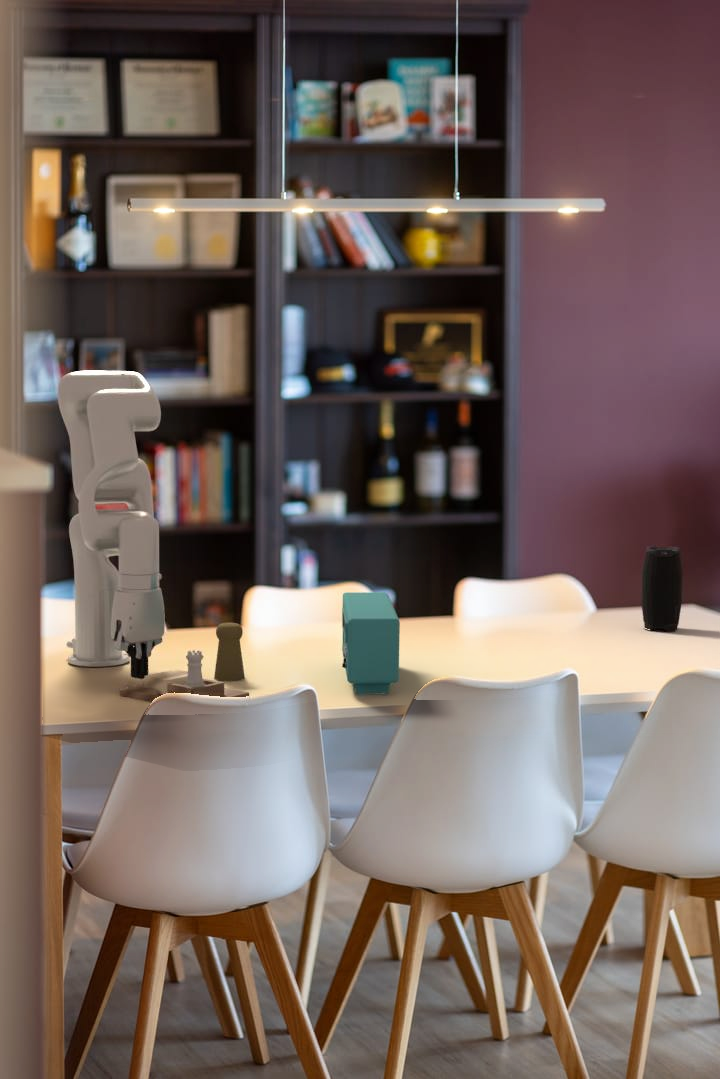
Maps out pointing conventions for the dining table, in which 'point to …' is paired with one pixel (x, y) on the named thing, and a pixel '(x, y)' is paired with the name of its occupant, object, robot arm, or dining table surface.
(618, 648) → the dining table surface
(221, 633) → the cork
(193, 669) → the rook chess piece
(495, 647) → the dining table surface
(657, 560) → the portable speaker
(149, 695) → the board
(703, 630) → the dining table surface
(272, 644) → the dining table surface
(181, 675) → the cream rectangular block
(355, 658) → the radio
